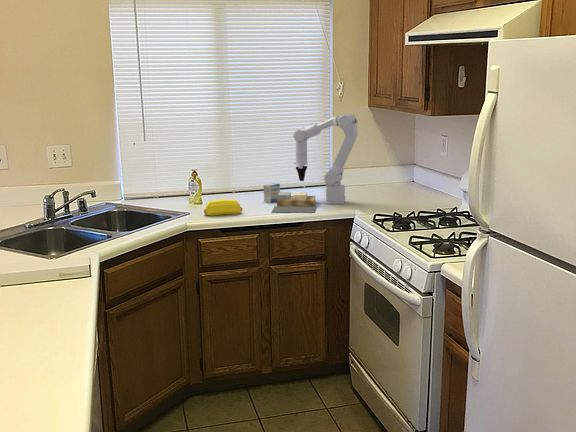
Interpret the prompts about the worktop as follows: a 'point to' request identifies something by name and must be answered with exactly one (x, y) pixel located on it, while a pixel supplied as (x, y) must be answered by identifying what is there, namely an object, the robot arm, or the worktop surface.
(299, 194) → the ivory card
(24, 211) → the worktop surface
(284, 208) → the mat
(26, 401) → the worktop surface
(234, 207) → the banana
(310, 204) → the deck
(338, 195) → the robot arm
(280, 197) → the slate card
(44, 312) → the worktop surface
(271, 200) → the medicine box
